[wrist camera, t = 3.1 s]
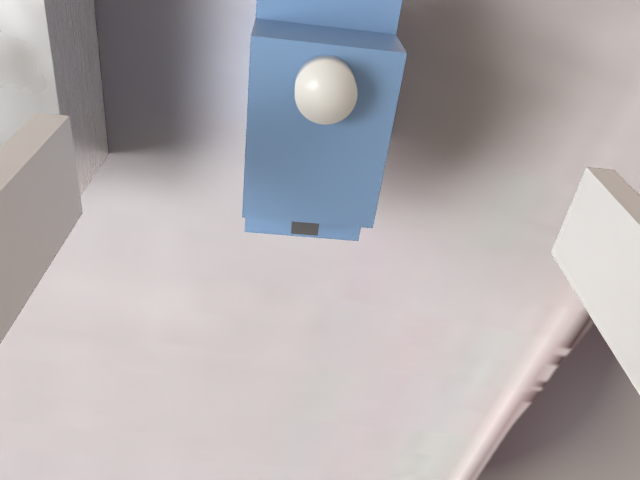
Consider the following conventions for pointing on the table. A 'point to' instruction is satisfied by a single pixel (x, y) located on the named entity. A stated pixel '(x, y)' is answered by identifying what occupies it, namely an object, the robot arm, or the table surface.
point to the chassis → (54, 74)
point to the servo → (320, 115)
